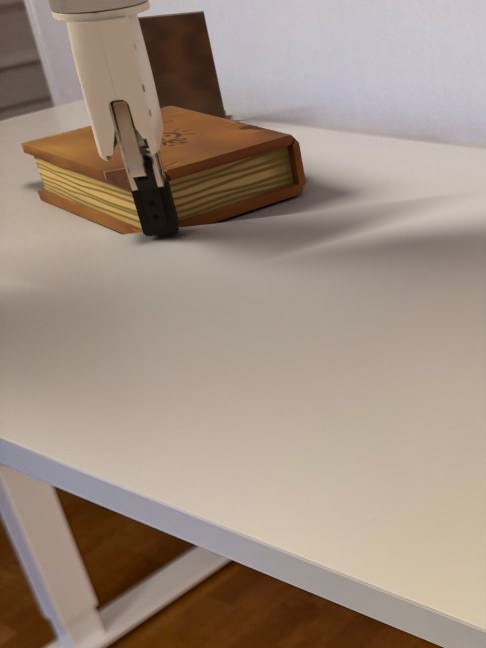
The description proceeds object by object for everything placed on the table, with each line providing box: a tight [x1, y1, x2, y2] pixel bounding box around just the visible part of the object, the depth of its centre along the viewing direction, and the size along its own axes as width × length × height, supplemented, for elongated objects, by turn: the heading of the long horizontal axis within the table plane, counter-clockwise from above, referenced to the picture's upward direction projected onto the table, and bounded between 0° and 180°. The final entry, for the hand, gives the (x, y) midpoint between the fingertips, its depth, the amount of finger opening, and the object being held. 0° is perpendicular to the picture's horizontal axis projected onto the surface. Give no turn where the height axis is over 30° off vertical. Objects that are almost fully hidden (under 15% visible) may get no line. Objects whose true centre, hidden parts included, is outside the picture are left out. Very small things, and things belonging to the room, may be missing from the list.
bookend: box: [138, 10, 227, 119], centre depth 118 cm, size 14×4×12 cm, turn 102°
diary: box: [20, 106, 307, 235], centre depth 97 cm, size 23×19×6 cm
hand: (162, 231), depth 86 cm, fingers closed
